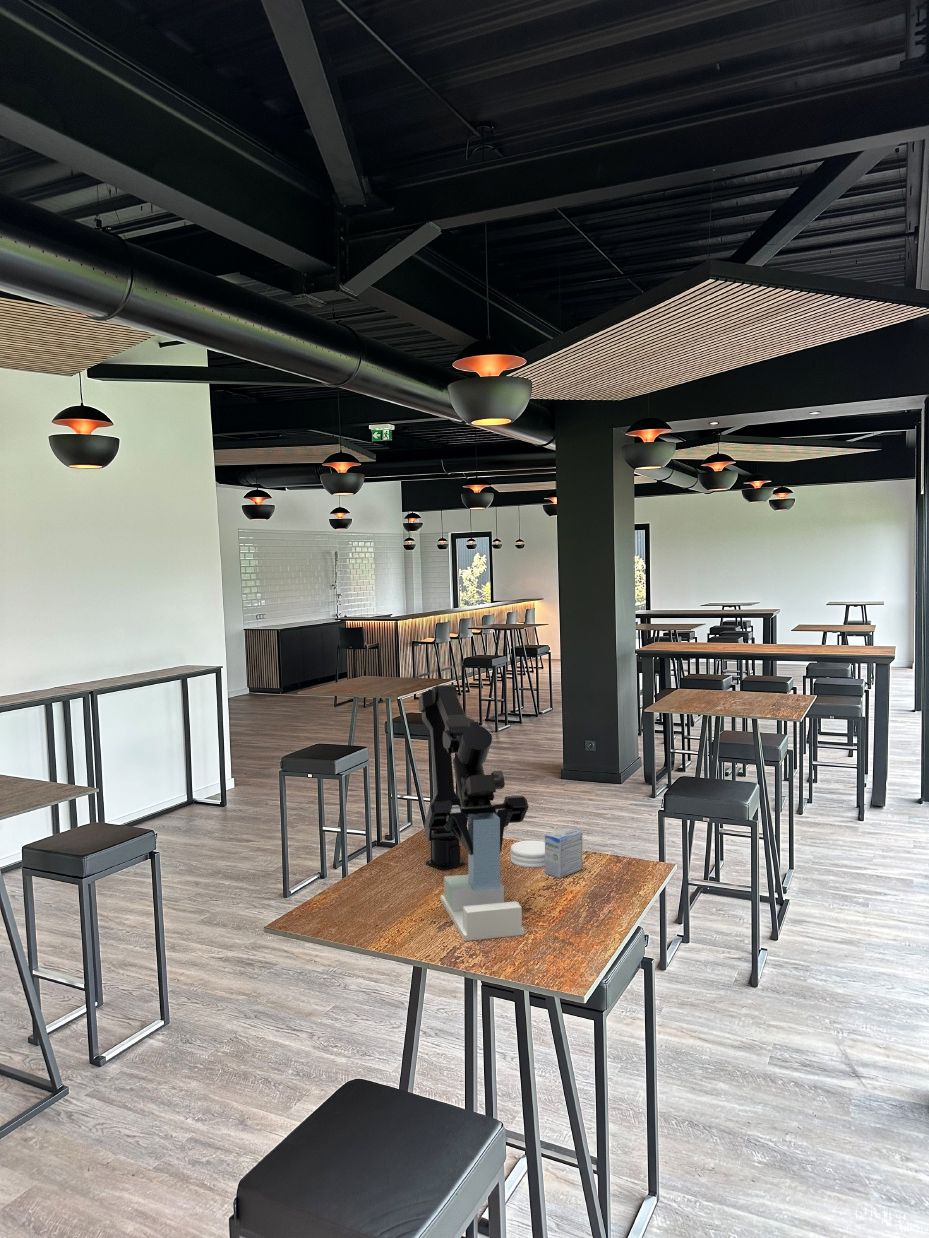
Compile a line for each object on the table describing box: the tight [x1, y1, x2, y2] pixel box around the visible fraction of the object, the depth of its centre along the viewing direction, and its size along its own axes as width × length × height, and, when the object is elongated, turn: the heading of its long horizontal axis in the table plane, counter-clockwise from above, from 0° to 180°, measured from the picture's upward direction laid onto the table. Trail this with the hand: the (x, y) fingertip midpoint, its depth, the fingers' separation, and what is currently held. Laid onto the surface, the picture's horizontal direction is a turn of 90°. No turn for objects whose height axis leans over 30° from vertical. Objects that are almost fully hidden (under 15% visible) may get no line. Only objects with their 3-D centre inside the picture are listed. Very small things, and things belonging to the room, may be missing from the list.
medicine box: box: [544, 827, 583, 879], centre depth 179 cm, size 8×4×9 cm, turn 134°
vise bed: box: [440, 894, 525, 942], centre depth 154 cm, size 20×11×5 cm, turn 14°
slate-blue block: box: [467, 813, 501, 891], centre depth 151 cm, size 4×5×13 cm
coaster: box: [509, 840, 545, 869], centre depth 187 cm, size 10×10×4 cm
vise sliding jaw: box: [443, 874, 505, 912], centre depth 159 cm, size 8×10×4 cm
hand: (485, 852), depth 150 cm, fingers closed on slate-blue block, 5 cm apart
